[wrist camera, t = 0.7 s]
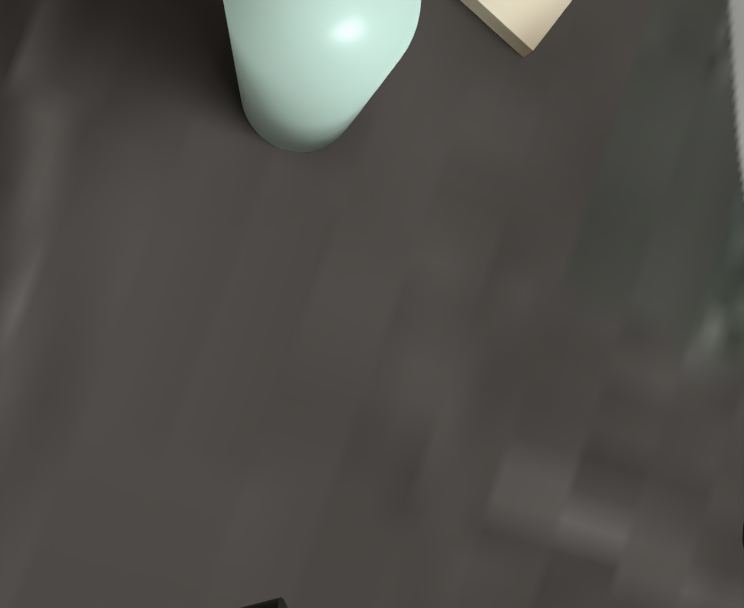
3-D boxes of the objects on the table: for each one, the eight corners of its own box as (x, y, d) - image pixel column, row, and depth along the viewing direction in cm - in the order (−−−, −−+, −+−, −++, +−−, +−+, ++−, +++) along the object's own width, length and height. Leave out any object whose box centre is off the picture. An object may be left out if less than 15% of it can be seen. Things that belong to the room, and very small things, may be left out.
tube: (216, 101, 30) (179, 2, 17) (288, 8, 30) (305, -158, 17) (309, 176, 31) (340, 135, 18) (379, 86, 31) (459, -18, 18)
